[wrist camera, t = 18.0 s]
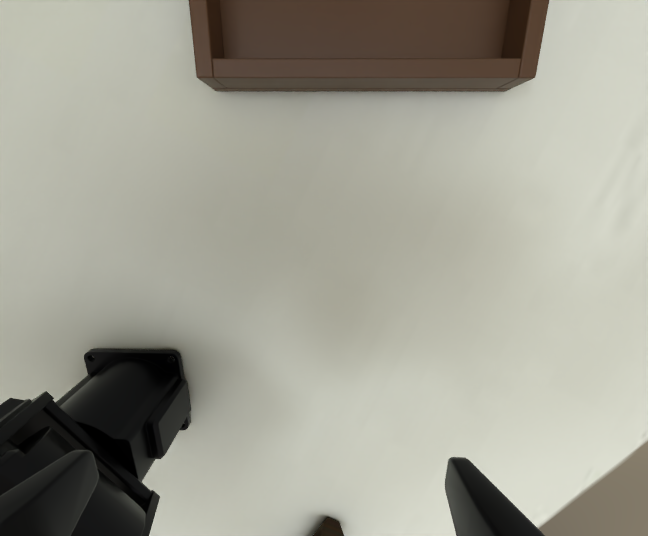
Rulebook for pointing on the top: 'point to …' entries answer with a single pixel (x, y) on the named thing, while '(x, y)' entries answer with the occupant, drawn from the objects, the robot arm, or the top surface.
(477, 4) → the tray
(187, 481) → the top surface
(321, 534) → the kitchen knife
